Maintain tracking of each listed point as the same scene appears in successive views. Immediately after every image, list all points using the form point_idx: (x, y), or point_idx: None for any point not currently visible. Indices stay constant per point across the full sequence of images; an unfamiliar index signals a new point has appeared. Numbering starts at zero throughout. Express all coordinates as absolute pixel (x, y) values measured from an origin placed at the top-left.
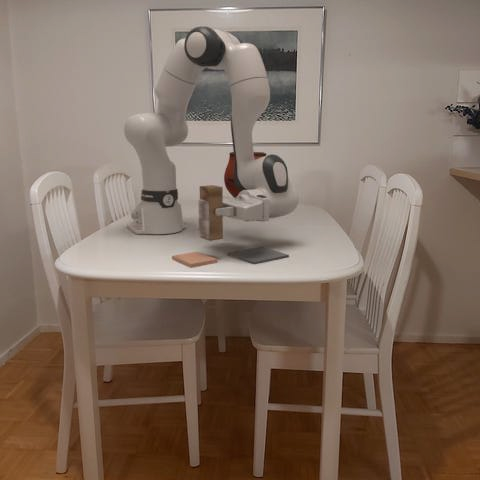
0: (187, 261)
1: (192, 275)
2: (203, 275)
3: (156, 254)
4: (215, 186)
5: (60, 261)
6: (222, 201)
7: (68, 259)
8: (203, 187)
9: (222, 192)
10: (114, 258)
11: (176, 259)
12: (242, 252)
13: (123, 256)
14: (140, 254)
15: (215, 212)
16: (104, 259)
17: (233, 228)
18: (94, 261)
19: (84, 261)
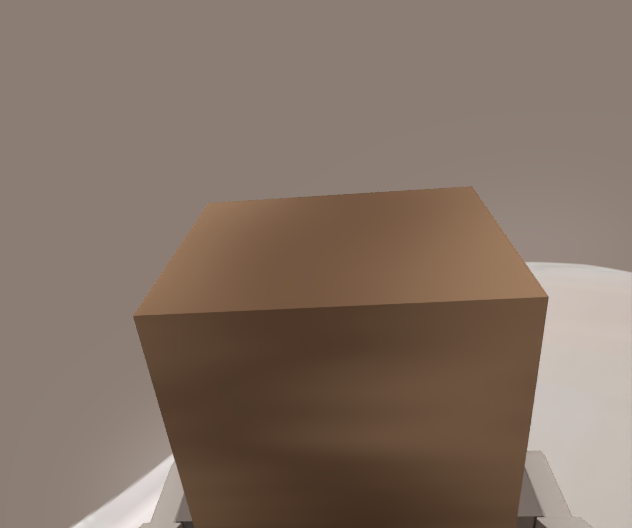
0: None
1: (161, 468)
2: (120, 501)
3: (602, 494)
4: (297, 272)
5: (582, 265)
6: (191, 515)
7: (602, 277)
8: (365, 200)
9: (160, 403)
10: (573, 354)
11: None
12: None
13: (600, 381)
14: (623, 437)
15: None
16: (568, 332)
17: None
18: (549, 311)
19: (560, 296)
